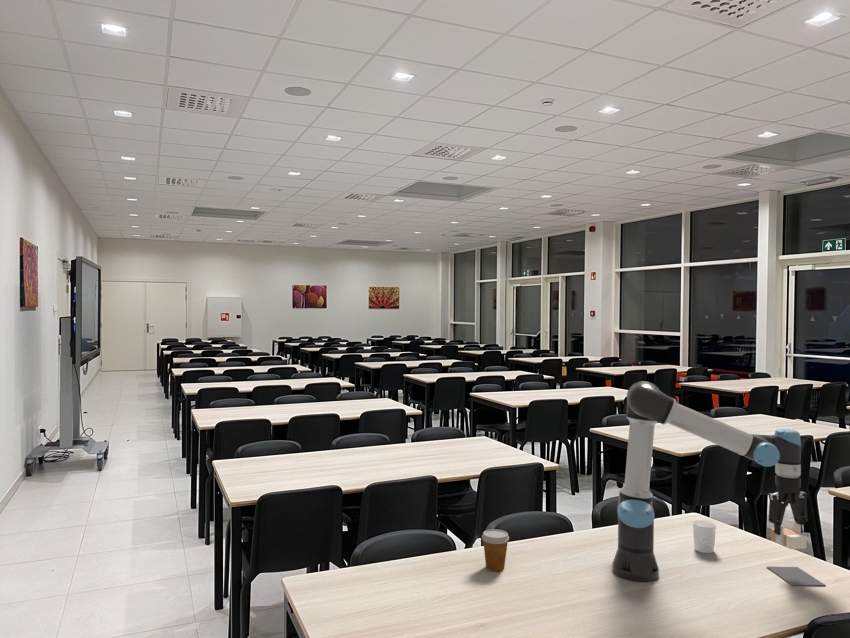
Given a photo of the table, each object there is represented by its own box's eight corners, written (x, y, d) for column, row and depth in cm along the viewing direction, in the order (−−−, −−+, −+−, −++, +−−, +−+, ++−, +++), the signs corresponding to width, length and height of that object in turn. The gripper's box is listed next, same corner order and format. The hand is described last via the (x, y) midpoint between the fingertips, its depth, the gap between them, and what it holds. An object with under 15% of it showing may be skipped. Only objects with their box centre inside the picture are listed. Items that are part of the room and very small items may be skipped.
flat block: (770, 540, 212) (770, 528, 212) (785, 539, 213) (785, 527, 213) (791, 549, 203) (791, 537, 203) (806, 548, 204) (806, 536, 204)
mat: (792, 585, 201) (792, 584, 201) (766, 567, 216) (766, 566, 216) (825, 586, 201) (825, 585, 201) (797, 568, 216) (797, 566, 216)
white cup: (719, 554, 228) (719, 527, 228) (698, 553, 228) (698, 527, 228) (709, 546, 236) (710, 520, 236) (689, 546, 236) (689, 520, 236)
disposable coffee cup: (508, 563, 217) (508, 529, 217) (509, 574, 208) (509, 538, 208) (481, 561, 218) (481, 528, 218) (481, 572, 208) (481, 537, 209)
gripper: (772, 479, 203) (772, 549, 203) (820, 476, 207) (821, 545, 206) (755, 474, 210) (755, 541, 210) (802, 471, 214) (803, 537, 214)
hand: (788, 543), depth 208 cm, fingers closed on flat block, 6 cm apart
